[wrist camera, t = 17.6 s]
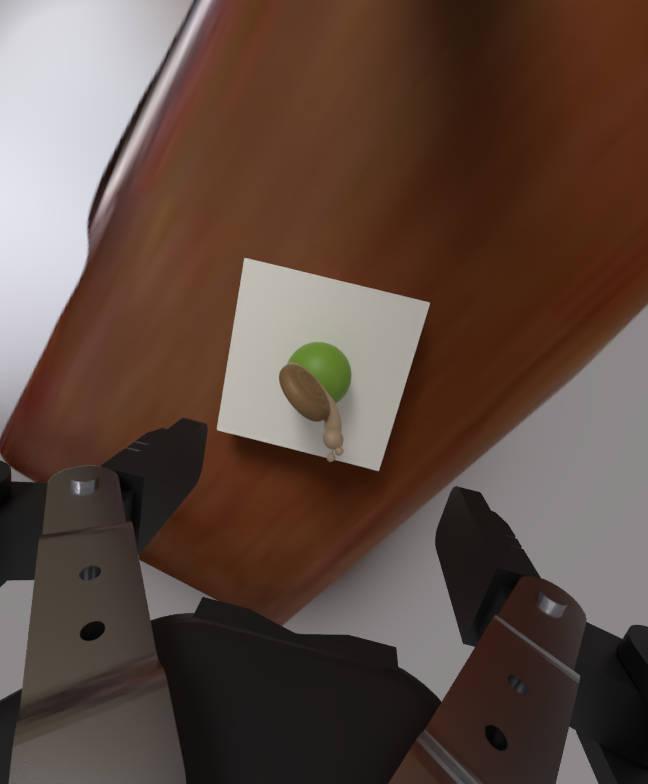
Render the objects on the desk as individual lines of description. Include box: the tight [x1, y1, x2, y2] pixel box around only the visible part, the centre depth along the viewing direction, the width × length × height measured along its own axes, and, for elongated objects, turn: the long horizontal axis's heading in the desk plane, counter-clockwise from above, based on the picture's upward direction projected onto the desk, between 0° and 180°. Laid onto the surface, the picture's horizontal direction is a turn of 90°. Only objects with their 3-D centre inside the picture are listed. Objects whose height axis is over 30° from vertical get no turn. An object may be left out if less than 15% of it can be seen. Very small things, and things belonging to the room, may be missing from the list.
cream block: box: [217, 258, 430, 471], centre depth 36 cm, size 16×16×5 cm
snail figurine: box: [279, 342, 352, 462], centre depth 28 cm, size 5×6×12 cm
